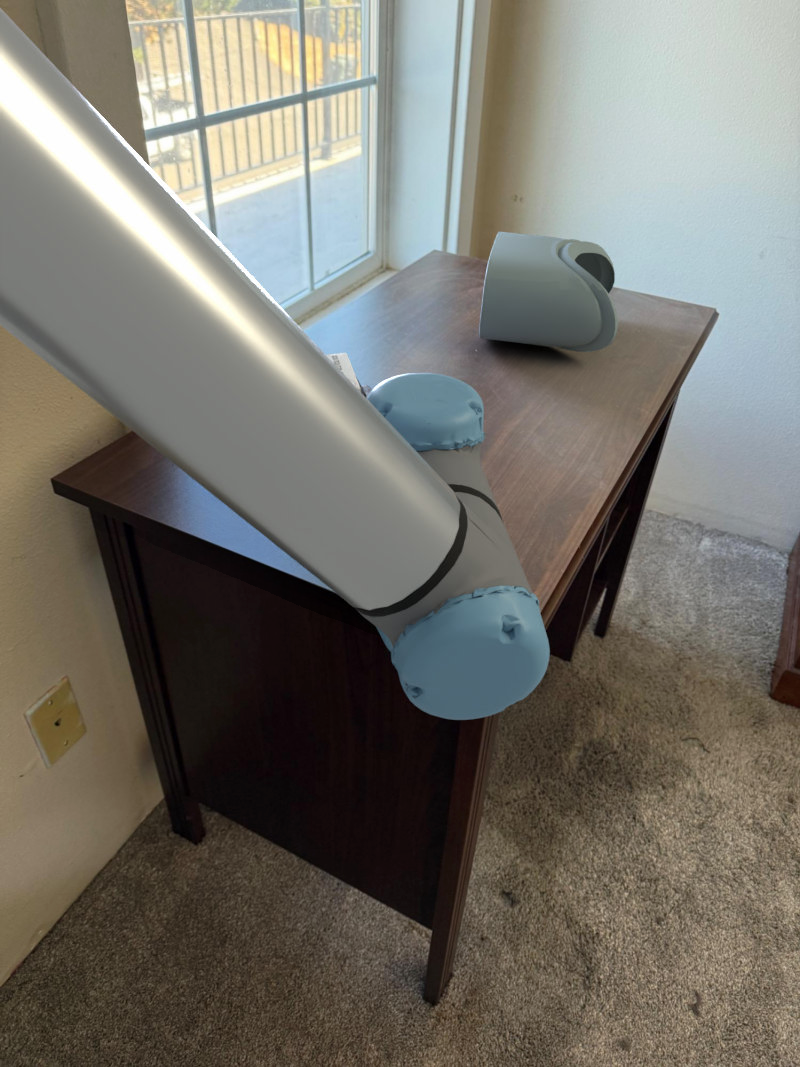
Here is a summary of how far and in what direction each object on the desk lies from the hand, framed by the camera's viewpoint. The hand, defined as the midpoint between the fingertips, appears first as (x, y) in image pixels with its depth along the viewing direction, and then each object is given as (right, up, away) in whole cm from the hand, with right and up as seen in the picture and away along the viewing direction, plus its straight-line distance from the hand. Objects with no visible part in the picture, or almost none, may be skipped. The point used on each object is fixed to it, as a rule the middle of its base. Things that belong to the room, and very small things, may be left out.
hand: (320, 381), depth 80 cm
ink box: (+1, -10, +1) cm, 10 cm away
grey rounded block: (+31, +15, +36) cm, 50 cm away
